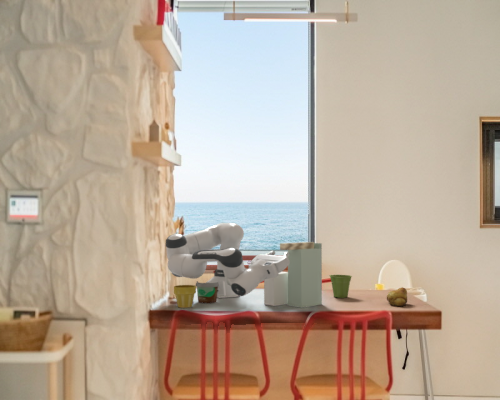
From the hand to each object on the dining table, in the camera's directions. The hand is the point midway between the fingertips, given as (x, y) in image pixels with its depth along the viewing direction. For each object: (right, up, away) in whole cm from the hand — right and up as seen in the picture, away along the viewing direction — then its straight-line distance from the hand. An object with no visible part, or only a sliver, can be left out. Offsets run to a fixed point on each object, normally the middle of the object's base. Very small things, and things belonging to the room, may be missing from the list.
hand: (280, 252), depth 237 cm
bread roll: (+57, -27, +11) cm, 64 cm away
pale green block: (+12, -26, +10) cm, 31 cm away
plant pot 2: (+34, -27, +34) cm, 55 cm away
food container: (-36, -27, +17) cm, 48 cm away
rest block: (0, -26, +13) cm, 29 cm away
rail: (+8, +1, +8) cm, 12 cm away
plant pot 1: (-45, -26, +5) cm, 52 cm away
